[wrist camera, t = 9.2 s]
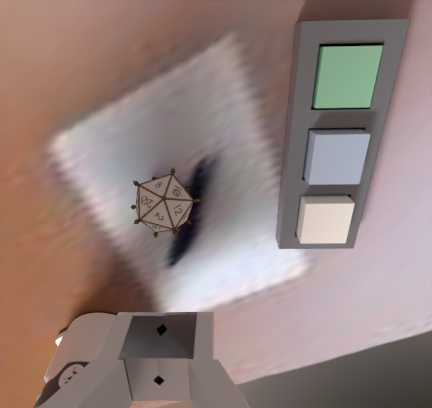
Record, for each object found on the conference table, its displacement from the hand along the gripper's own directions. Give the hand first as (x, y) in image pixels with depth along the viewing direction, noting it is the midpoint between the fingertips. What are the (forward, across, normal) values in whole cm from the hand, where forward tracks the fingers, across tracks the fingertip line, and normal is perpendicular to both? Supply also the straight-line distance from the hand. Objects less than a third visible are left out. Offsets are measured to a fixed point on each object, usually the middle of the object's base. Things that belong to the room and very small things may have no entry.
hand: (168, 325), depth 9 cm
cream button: (+29, +16, -11) cm, 35 cm away
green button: (+30, +15, +6) cm, 34 cm away
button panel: (+30, +16, -2) cm, 34 cm away
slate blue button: (+28, +16, -2) cm, 33 cm away
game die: (+31, -5, -9) cm, 33 cm away
